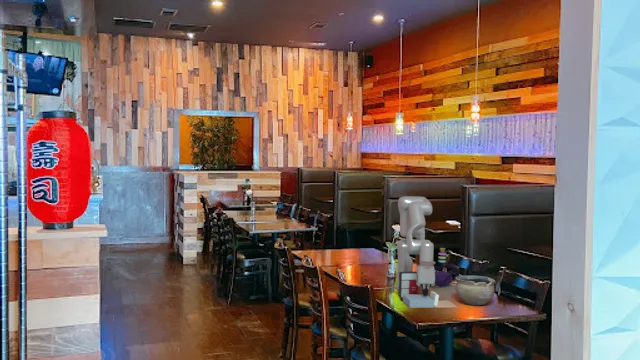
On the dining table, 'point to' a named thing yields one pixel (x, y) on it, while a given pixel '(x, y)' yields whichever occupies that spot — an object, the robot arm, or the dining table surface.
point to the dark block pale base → (407, 283)
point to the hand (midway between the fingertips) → (425, 295)
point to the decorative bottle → (444, 277)
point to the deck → (418, 301)
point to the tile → (434, 297)
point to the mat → (444, 303)
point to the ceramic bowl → (475, 289)
